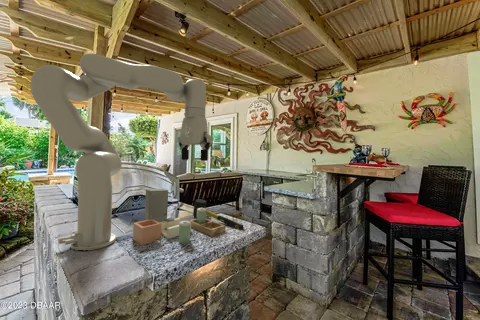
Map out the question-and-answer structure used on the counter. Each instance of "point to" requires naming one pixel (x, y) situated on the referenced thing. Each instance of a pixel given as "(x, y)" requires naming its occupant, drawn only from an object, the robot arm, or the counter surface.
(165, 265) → the counter surface
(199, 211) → the cylinder
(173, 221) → the cradle
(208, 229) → the trough
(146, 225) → the orange open box
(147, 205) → the skincare box
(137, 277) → the counter surface
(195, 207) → the mallet
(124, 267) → the counter surface
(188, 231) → the cylinder
